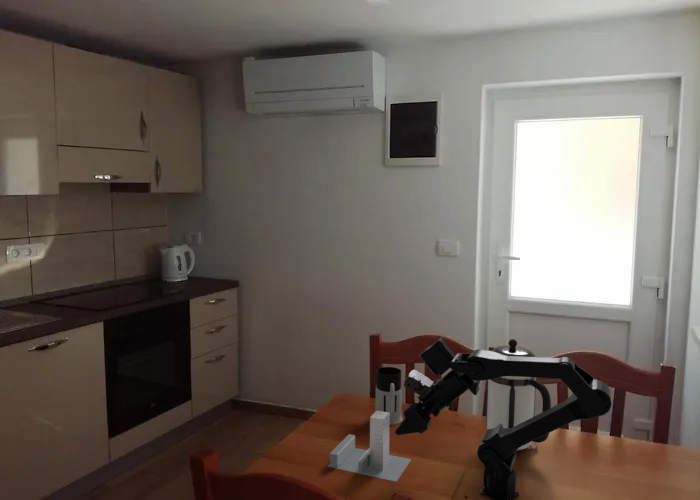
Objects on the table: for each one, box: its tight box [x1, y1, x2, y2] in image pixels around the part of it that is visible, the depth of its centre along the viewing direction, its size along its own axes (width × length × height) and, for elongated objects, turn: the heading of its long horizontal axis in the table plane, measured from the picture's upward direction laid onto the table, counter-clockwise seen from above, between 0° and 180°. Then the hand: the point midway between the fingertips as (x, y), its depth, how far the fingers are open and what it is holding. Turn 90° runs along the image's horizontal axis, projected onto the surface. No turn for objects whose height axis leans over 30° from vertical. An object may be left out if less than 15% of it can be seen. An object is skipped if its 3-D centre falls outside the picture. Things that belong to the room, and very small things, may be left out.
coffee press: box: [480, 338, 552, 451], centre depth 154 cm, size 17×16×30 cm
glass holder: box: [374, 366, 404, 426], centre depth 171 cm, size 9×14×15 cm, turn 4°
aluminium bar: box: [369, 411, 391, 470], centre depth 143 cm, size 4×4×13 cm
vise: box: [327, 433, 412, 483], centre depth 145 cm, size 18×12×4 cm, turn 67°
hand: (402, 425), depth 140 cm, fingers open, 9 cm apart
